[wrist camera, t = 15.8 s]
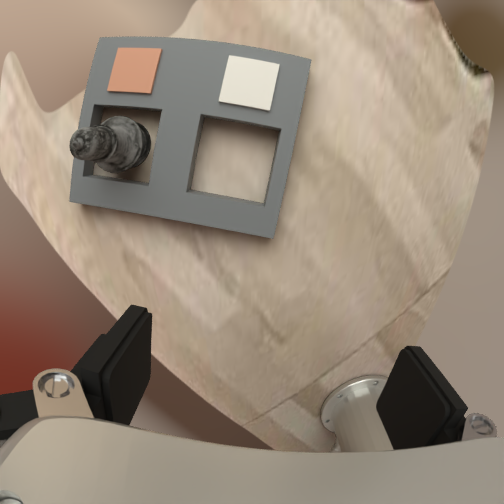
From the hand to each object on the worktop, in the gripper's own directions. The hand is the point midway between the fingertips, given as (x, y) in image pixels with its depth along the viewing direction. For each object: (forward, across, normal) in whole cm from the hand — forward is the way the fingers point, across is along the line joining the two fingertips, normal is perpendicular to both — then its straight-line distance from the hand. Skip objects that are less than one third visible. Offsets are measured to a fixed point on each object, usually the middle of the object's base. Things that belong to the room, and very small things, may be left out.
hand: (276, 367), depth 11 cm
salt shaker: (+24, +16, -7) cm, 30 cm away
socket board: (+24, +10, -10) cm, 28 cm away
